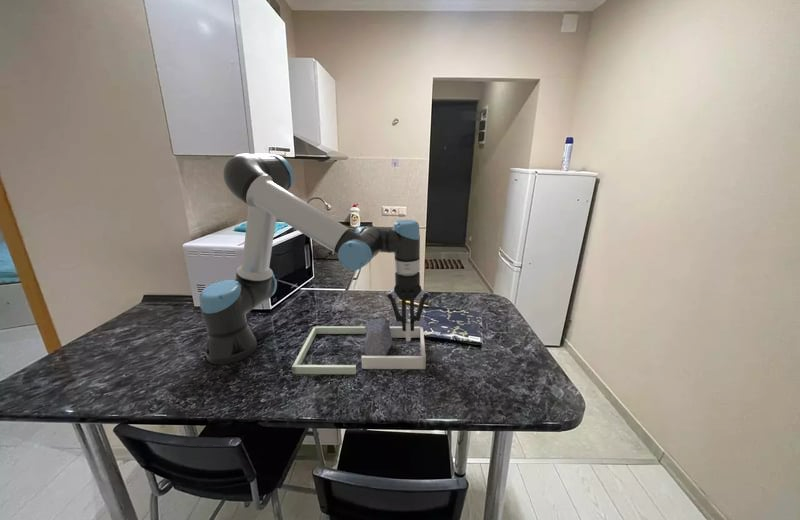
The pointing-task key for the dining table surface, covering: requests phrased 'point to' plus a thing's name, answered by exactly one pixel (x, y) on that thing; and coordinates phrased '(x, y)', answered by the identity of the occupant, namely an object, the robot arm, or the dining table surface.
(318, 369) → the pale green u-shaped frame
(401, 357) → the frame
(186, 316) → the dining table surface
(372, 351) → the stone
